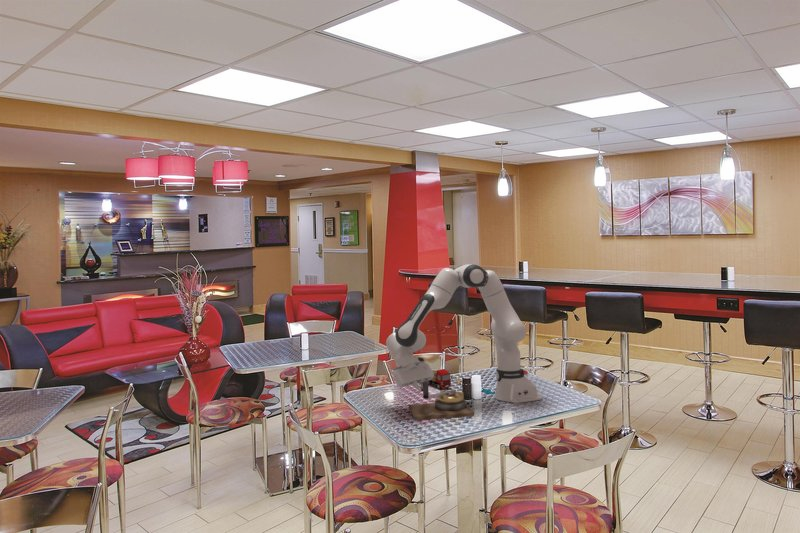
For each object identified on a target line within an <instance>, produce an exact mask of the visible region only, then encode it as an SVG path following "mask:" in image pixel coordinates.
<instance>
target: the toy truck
mask: <svg viewBox="0 0 800 533" xmlns="http://www.w3.org/2000/svg"><path fill="white" fill-rule="evenodd" d="M452 379H453V377H452V376H451V373H450V372H449V371H448V370H447V369H444V368H442V369H438V370H436V372H434V377H433V378H432V379H431V380H429V381H427V382H428V383H430V384H433V385H435V386H436V389H437V390H438V391H441V390H443V389H448V388H450V387H451V386H452V385H451V383H452Z"/></svg>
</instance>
